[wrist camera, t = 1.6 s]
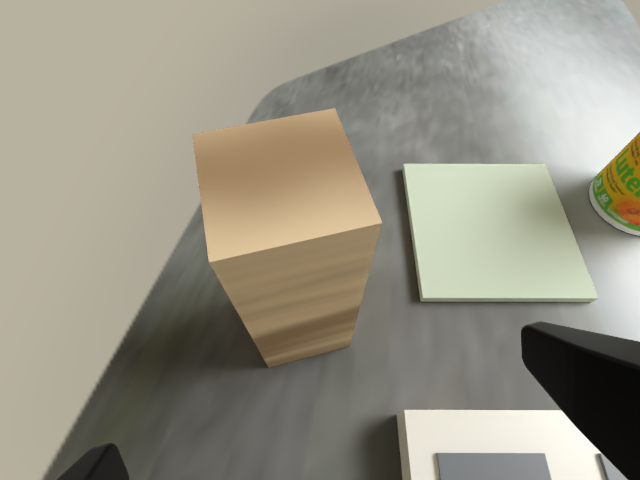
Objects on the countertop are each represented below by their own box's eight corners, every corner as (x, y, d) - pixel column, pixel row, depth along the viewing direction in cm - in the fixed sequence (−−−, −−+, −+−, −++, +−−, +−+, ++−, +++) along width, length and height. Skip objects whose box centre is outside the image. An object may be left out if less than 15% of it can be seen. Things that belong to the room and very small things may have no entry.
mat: (592, 302, 22) (598, 298, 21) (420, 301, 22) (423, 297, 21) (541, 169, 27) (545, 164, 26) (402, 169, 27) (403, 163, 26)
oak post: (349, 346, 21) (382, 222, 10) (268, 367, 20) (208, 262, 9) (327, 274, 23) (334, 108, 12) (254, 291, 22) (192, 134, 11)
